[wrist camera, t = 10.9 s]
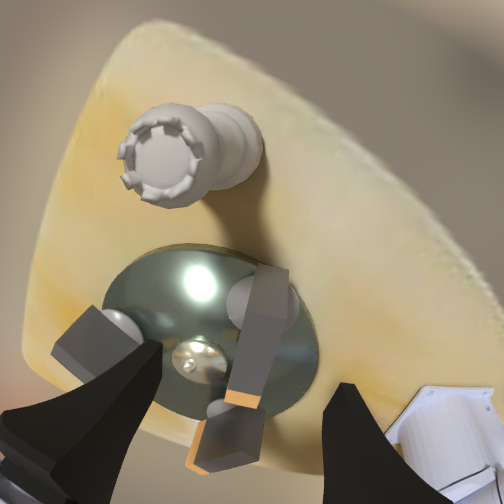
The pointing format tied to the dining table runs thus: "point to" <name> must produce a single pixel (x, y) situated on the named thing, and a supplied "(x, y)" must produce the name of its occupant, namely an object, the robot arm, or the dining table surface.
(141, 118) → the rook chess piece
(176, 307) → the base plate
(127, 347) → the knob
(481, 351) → the dining table surface
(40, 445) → the robot arm
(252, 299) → the grey block
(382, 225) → the dining table surface
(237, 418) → the knob
